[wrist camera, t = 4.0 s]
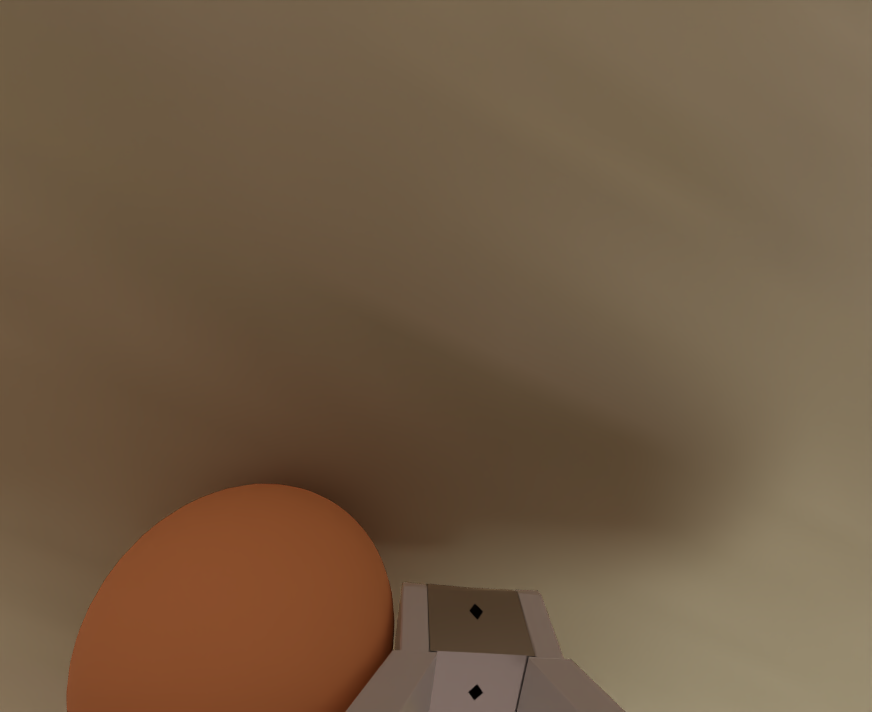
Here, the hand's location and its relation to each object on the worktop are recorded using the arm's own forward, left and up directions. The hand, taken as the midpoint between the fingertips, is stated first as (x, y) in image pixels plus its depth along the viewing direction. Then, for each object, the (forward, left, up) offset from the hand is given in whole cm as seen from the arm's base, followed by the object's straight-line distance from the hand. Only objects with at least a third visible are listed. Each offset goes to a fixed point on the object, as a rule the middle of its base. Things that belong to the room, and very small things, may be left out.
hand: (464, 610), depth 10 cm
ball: (+4, 0, +1) cm, 4 cm away
